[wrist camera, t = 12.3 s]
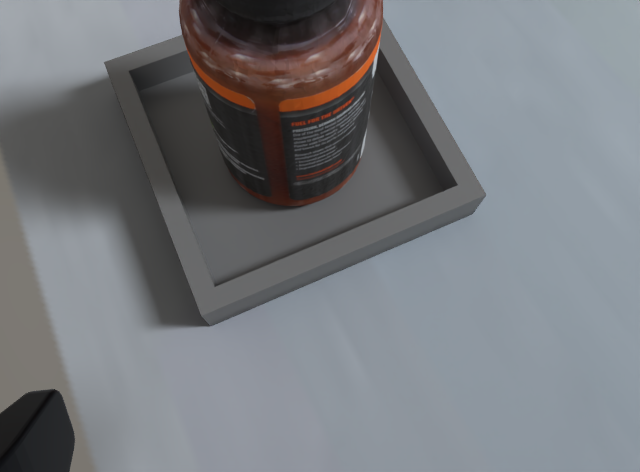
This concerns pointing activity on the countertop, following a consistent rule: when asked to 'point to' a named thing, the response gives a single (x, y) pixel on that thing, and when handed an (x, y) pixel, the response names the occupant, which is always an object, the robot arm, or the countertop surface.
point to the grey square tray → (277, 220)
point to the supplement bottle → (286, 89)
